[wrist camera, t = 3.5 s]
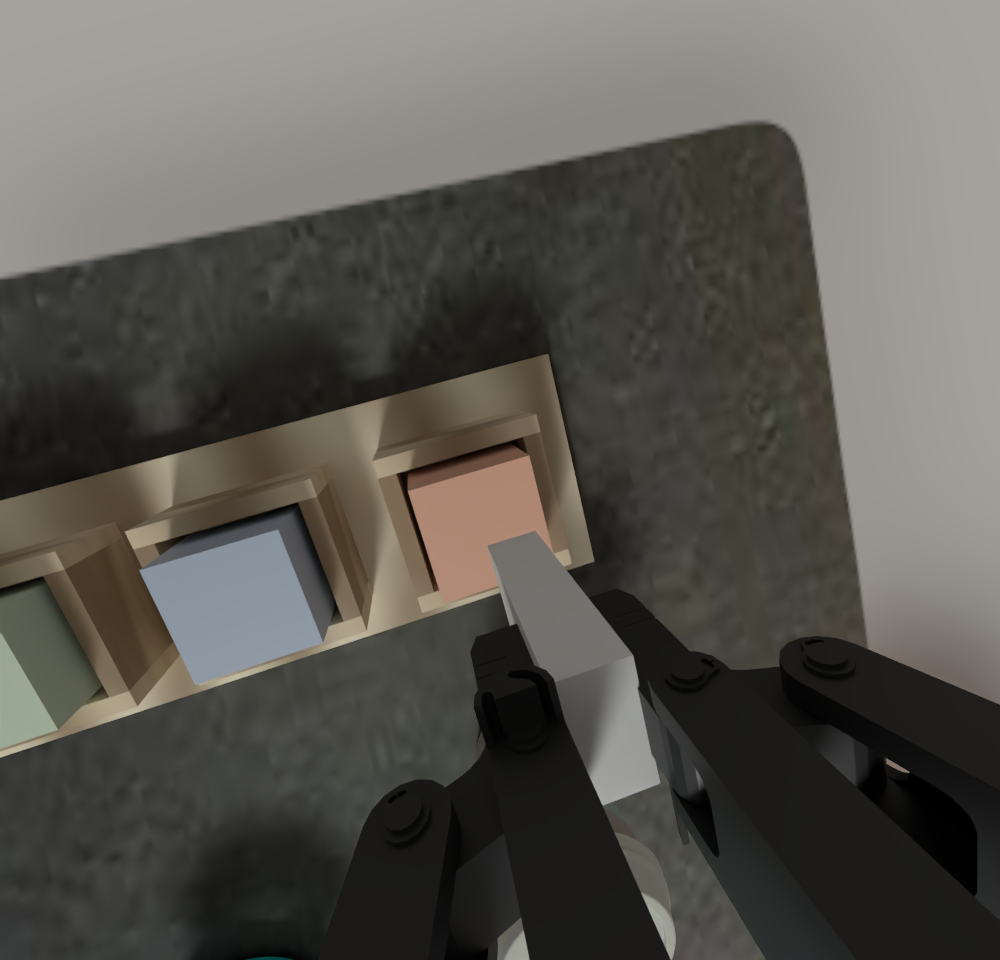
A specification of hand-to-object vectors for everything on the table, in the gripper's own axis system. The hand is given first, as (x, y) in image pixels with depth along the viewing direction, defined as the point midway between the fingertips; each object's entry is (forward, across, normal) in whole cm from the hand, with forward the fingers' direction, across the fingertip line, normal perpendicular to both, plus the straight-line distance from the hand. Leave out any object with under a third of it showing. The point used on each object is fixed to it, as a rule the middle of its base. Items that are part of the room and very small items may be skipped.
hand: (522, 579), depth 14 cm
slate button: (+9, -10, 0) cm, 14 cm away
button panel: (+13, -10, 0) cm, 16 cm away
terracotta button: (+9, 0, 0) cm, 9 cm away
